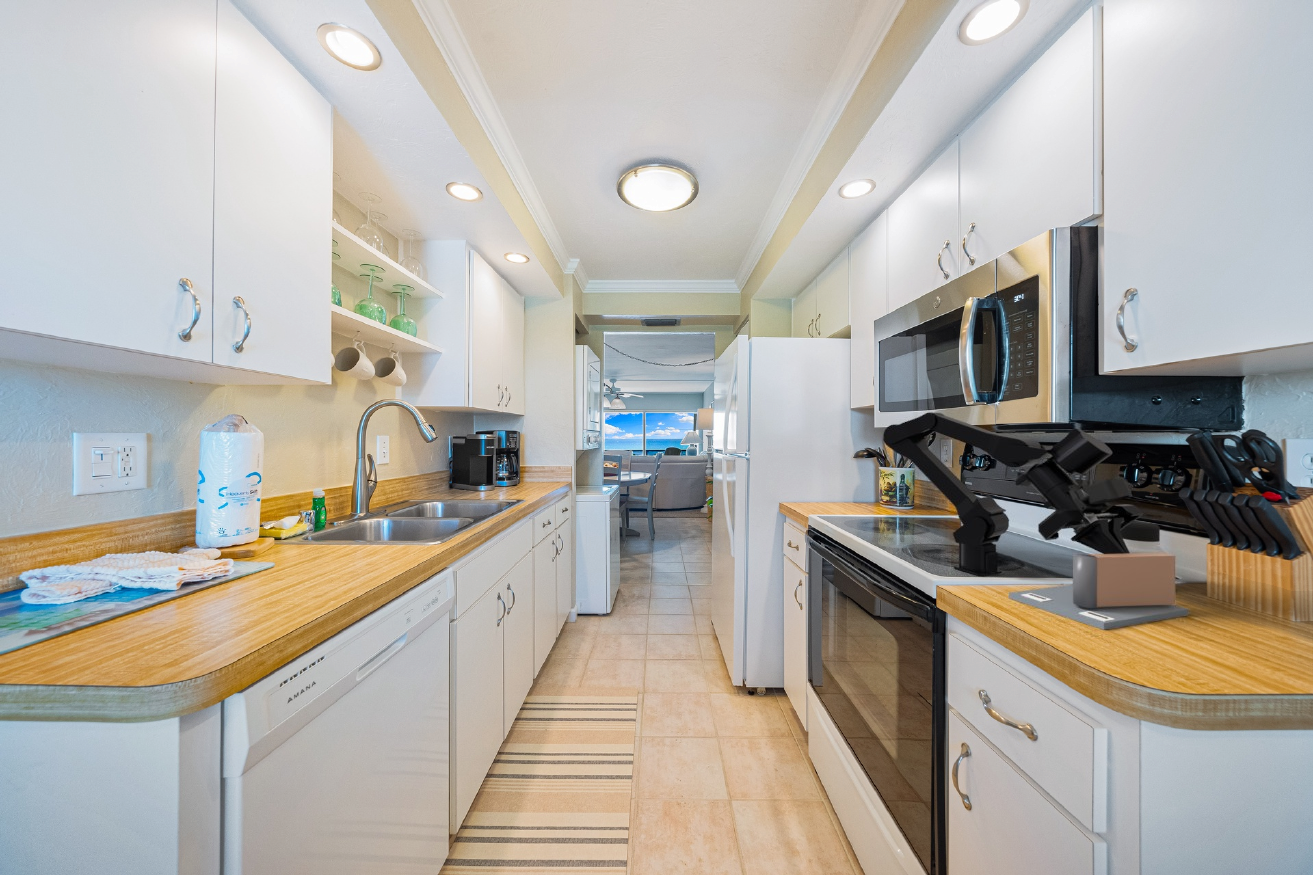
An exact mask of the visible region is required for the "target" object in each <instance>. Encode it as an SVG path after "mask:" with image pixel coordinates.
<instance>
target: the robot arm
mask: <svg viewBox="0 0 1313 875" xmlns="http://www.w3.org/2000/svg"><path fill="white" fill-rule="evenodd" d="M934 433H938V434H940V435H944V437H945V436H946V437H949V438H951V439H953V440H956V441H958V442H961V443H963V444H967V445H969V446H972V447H975V448H977V449H980V450H982V451H983V452H985V453H986V454H987V455H988V456H990V457H991V458H992V459H994V460H996V461H998V462H999V463H1001V464H1003V465H1004V466H1007V467H1008V468H1022V467H1030V468H1029V469H1028V470H1026V471H1025V472H1021V471H1017V473H1016V474H1017V475H1016V476H1017V477H1016V480H1015V486H1019V487H1024V488H1028V487H1030V486H1032V487H1033V488H1034V489H1035V490H1036V491H1037V492H1038V493H1039V494H1040V495H1041V497H1042V498H1043V499H1044V500H1045V501H1046V502H1044V503H1043V506H1044V507H1045V509H1047V510H1049V509H1050V510H1051V509H1053V510H1054V511H1053V512H1051V514H1049V515H1048V516H1047V517H1045V518H1044V519H1043V520H1042V521H1041V522H1040V523H1038V525H1037V526H1038V527H1037V528H1038V530H1037V531H1038V533H1039V534H1040V535H1041V537H1042V538H1043V539H1044V540H1045V541H1051V540H1057V539H1059V534H1060V533H1059V532H1060V531H1061V530H1064V529H1065V530H1066V529H1073V533H1074V535H1073V536H1072V537H1071V538H1070V541H1072V542H1076V543H1078V544H1081V545H1083V546H1086V547H1087V548H1090V549H1092V550H1094V551H1096V552H1098V553H1099V554H1129V553H1130V552H1129V550H1128V548H1127V546H1126V544H1125V542H1124V540H1123V538H1122V535H1121V533H1120V530H1122V529H1123V528H1125V527H1126V526H1128V525H1129V524H1130V523H1132V522H1133V521H1137V520H1138V519H1139V518H1141V517H1142V516H1143V515H1144V513H1143V512H1142V511H1141V510H1140V509H1139V508H1138V507H1137V506H1136V505H1135V504H1126V503H1124V504H1123V503H1122V504H1115V505H1114V504H1113V505H1111V504H1110V503H1111V502H1114V501H1118V500H1121V499H1130V498H1131V497H1133V495H1132V491H1133V488H1134V485H1133V484H1132V483H1130V482H1128V479H1124V478H1122V477H1121V476H1113V477H1112V478H1109V479H1108V478H1107V479H1105V480H1102V481H1099V482H1096V483H1094V484H1089V485H1088V484H1078V483H1077V482H1076V481H1075V480H1074V478H1072V477H1071V475H1074V474H1075V473H1077V474H1080V475H1084V474H1086V473H1088V472H1089V471H1090V470H1092V469H1093V468H1095V467H1096V466H1097V465H1099V464H1100V463H1101V462H1103V461H1104V460H1106V459H1107V458H1109V457H1110V456H1112V454H1113V451H1112V450H1111V448H1110V447H1109V446H1108V445H1107V444H1105V443H1104V442H1103V441H1102V440H1101V439H1099V438H1096V437H1095V436H1093V435H1091V434H1089V433H1087V432H1085V431H1084V430H1082V429H1081V428H1073V429H1072V430H1071V431H1069V432H1068V434H1067V435H1066V436H1064V438H1062V439H1061V440H1060V441H1059V442H1057V443H1056V444H1055V445H1043V444H1040V442H1039V441H1037V440H1036V439H1033V438H1030V437H1023V436H1018V435H1012V434H1005V433H997V432H994V431H990V430H987V429H985V428H983V427H979V426H977V425H973V424H970V423H967V422H965V421H962V420H959V419H955V418H953V417H949V416H947V415H945V414H943V413H941V412H933V411H932V412H925V413H924V414H922V415H920V416H918V417H915V418H913V419H910V420H909V419H908V421H907V420H906V421H904V422H901V423H900V424H898V423H897V424H891V425H888V426H887V427H886V428H885V430H884V431H883V436H882V437H883V438H882V441H883V443H884V444H885V445H886V446H887V447H888V448H889V449H891V451H893V452H895V453H896V454H898V455H900V456H901V457H904V458H906V459H908V460H909V461H911V462H912V463H913V464H914V465H915V466H916V468H917V469H918V470H919V471H920V472H921V473H923V475H924V476H925V477H926V478H927V479H928V480H929V481H930V482H931V483H932V484H933V485H934V486H935V487H936V488H937V489H938V491H940V493H941V494H942V495H943V496H944V497H945V498H946V499H947V500H948V501H949V502H950V503H951V504H952V505H953V507H954V508H955V510H956V514H957V516H958V519H959V521H960V523H961V524H962V525H961V526H960V527H959V528H957V529H956V530H955V531H954V532H953V533H952V536H953V539H954V541H955V543H957V544H958V565H957V564H956V565H953V566H952V567H953V569H956V570H959V571H963V572H965V573H969V574H972V575H975V576H990V575H995V574H998V575H999V574H1002V573H1003V570H1000V569H998V568H999V567H998V564H999V563H998V562H999V561H998V559H999V556H998V555H999V552H998V551H997V544H995V543H997V542H999V541H1000V538H1001V536H1002V535H1003V534H1005V533H1006V532H1007V531H1008V529H1009V526H1010V524H1009V523H1010V519H1009V517H1008V515H1007V514H1006V513H1005V512H1007V509H1005V508H1004V507H1002V506H1000V505H999V504H998V503H997V501H996V500H995V499H994V498H993V497H992V496H984V497H980V496H978V495H976V494H975V493H974V492H972V491H971V489H970V488H968V486H967V485H965V483H963V482H962V481H961V479H960V478H959V477H957V475H955V474H954V472H952V471H951V470H950V469H949V468H948V467H947V466H946V464H944V463H943V462H942V461H941V460H940V458H938V457H937V456H936V454H934V453H933V452H932V451H931V450H930V448H929V446H928V443H927V440H926V438H927V437H929V436H931V435H932V434H934ZM1044 459H1046V461H1044V462H1042V463H1039V462H1040V460H1044ZM1031 466H1032V467H1031ZM1068 473H1069V474H1071V475H1069V474H1068ZM1110 506H1111V507H1110ZM1107 508H1108V509H1107ZM1103 510H1105V511H1103Z"/></svg>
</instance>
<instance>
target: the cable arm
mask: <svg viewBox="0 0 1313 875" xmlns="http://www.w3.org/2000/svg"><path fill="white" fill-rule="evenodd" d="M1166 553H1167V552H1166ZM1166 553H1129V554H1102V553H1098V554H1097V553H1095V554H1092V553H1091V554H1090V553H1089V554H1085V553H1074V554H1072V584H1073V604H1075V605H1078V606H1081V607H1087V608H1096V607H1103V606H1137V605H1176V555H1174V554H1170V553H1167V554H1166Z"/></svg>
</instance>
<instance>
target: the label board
mask: <svg viewBox="0 0 1313 875" xmlns="http://www.w3.org/2000/svg"><path fill="white" fill-rule="evenodd" d="M1008 599H1009V600H1011V601H1016V602H1019V603H1021V604H1025V605H1027V606H1031V607H1034V608H1036V609H1039V610H1042V611H1046V612H1049V613H1052V614H1055V615H1058V616H1061V617H1064V618H1067V619H1069V620H1073V621H1076V622H1078V623H1082V624H1085V625H1088V626H1091V627H1093V628H1096V629H1100V630H1103V631H1105V630H1112V629H1117V628H1121V627H1127V626H1133V625H1135V626H1136V625H1139V624H1140V623H1141V624H1145V623H1152V622H1157V621H1164V620H1169V619H1174V618H1175V619H1176V618H1180V617H1186V615H1187V616H1190V613H1189V612H1190V610H1189V608H1186V607H1183V606H1180V605H1179V606H1178V605H1176V604H1172V605H1137V606H1103V607H1096V608H1087V607H1081V606H1078V605H1075V604H1073V583H1071V584H1064V585H1057V586H1049V587H1042V588H1041V587H1040V588H1035V589H1034V588H1033V589H1028V590H1027V589H1025V590H1020V591H1011V592H1010V591H1009V592H1008ZM1163 619H1164V620H1163Z"/></svg>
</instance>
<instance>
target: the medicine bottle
mask: <svg viewBox="0 0 1313 875" xmlns="http://www.w3.org/2000/svg"><path fill="white" fill-rule="evenodd" d="M1160 529H1161V528H1160V526H1159V525H1157V524H1155V523H1152V522H1147V521H1140V520H1135V521H1133V522H1132V523H1130V524H1129V525H1128V526H1126V527H1125V528H1123V529H1122V530H1120V533H1121V535H1122V538H1123V540H1124V542H1125V544H1126V546H1127V548H1128V550H1129V552H1130V553H1166V554H1168V553H1167V552H1166V551H1164V549H1163V548H1162V547H1161V546H1160V543H1161V541H1160V540H1161V539H1160V536H1161V532H1160Z"/></svg>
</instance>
